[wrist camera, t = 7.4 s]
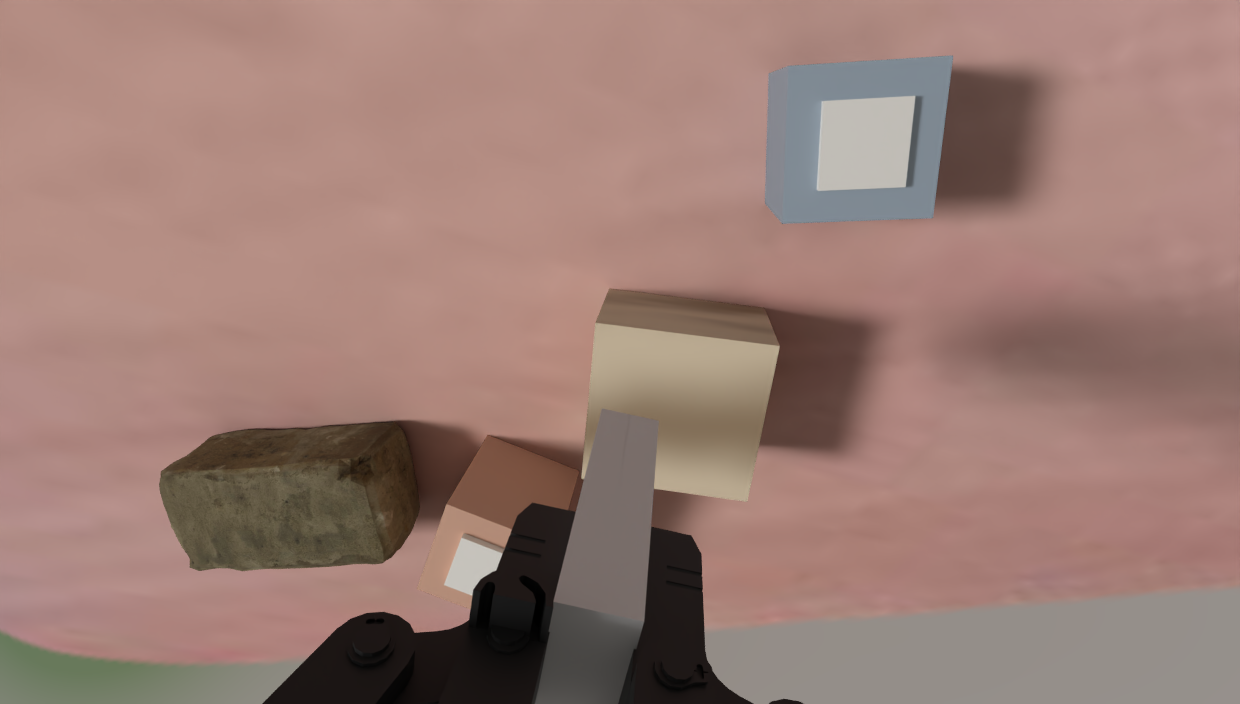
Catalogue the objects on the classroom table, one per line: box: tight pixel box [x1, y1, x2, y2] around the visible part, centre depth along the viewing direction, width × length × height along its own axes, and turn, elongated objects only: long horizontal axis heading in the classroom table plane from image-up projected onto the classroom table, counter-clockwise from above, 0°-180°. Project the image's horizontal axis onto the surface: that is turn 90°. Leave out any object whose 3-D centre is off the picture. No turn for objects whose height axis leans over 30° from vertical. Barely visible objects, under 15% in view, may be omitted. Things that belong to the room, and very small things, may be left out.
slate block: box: [765, 56, 953, 224], centre depth 23 cm, size 5×5×5 cm
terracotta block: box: [417, 435, 579, 609], centre depth 30 cm, size 5×5×6 cm
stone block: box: [159, 422, 420, 571], centre depth 31 cm, size 6×12×5 cm, turn 98°
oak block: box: [581, 289, 780, 502], centre depth 27 cm, size 7×7×5 cm
